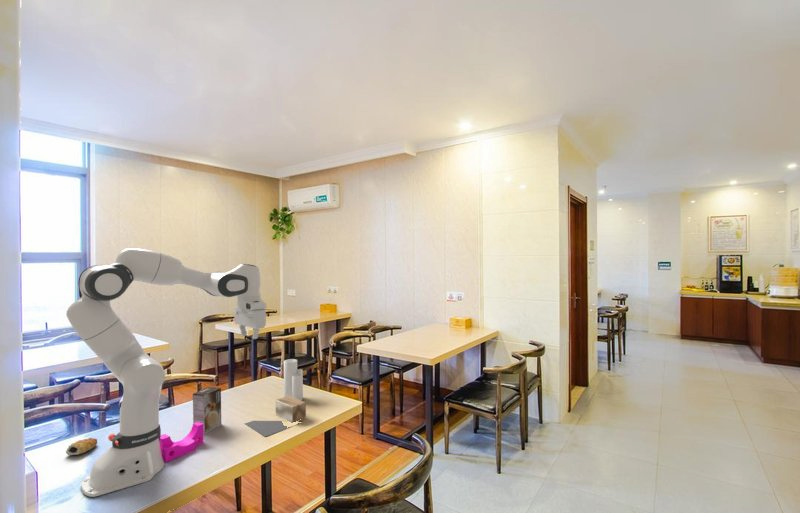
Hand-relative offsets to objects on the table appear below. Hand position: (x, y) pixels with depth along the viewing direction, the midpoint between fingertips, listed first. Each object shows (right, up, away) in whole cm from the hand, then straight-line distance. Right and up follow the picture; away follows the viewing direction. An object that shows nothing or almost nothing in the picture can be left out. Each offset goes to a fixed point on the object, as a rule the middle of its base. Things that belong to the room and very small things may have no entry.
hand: (249, 337), depth 158 cm
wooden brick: (+11, -35, +11) cm, 38 cm away
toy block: (-19, -40, -15) cm, 46 cm away
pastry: (-54, -40, -13) cm, 68 cm away
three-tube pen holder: (+9, -39, +34) cm, 53 cm away
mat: (+12, -39, +12) cm, 43 cm away
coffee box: (-19, -40, +4) cm, 44 cm away
